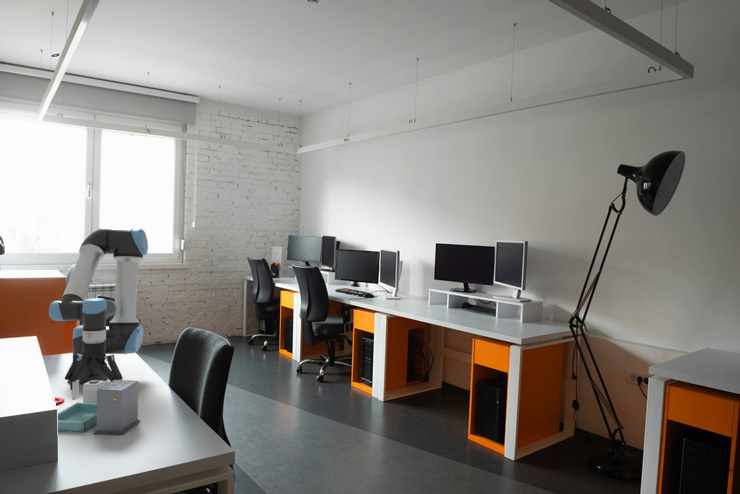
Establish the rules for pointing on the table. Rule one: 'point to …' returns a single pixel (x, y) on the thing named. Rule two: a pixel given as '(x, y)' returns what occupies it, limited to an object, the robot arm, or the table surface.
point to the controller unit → (117, 407)
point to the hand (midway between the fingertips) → (93, 399)
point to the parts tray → (78, 417)
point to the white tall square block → (91, 390)
